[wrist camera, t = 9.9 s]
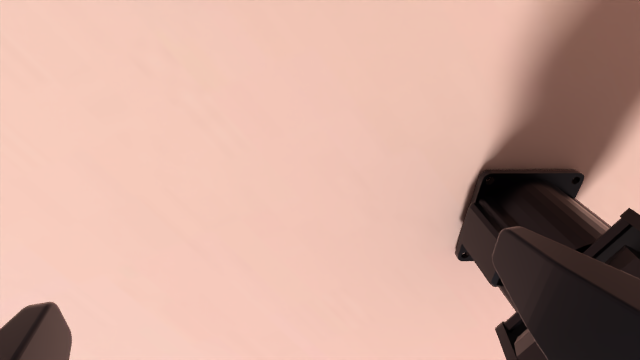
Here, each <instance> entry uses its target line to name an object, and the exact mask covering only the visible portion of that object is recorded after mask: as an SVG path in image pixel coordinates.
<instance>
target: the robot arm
mask: <svg viewBox="0 0 640 360" xmlns="http://www.w3.org/2000/svg"><path fill="white" fill-rule="evenodd" d="M489 177H491V178H490V179H489V180H488V181H486V180H487V179H488V178H489ZM583 180H584V175H583V174H582V173H580V172H579V171H577V170H486V171H484V172H482V173H481V174H480V176H479V178H478V181H477V184H476V187H475V191H474V194H473V197H472V200H471V203H470V206H469V207H468V210H467V213H466V216H465V219H464V223H463V226H462V229H461V232H460V235H459V241H458V244H457V248H456V251H455V255H456V256H457V258H458V259H459V260H460V261H475V263H476V264H477V266H478V267H479V269H480V270H481V271H482V273H483V274H484V276H485V277H486V279H487V280H488V282H489V283H490V284H491V285H492V286H493V287H499V288H500V290H501V291H502V293H503V294H504V295H505V297H506V298H507V300H508V301H509V302H510V304H511V305H512V307H513V308H514V309H515V311H516V313H515V314H513V315H512V316H511V317H510V318H509V319H508V320H507V321H506V322H502V323H500V324H499V325H498V326H497V327H496V328H495V330H496V333H497V335H498V338H499V341H500V343H501V346H502V349H503V352H504V354H505V357H506V360H640V215H639V214H638V213H636V212H635V211H633V210H632V209H630V208H629V209H627V210H626V211H625V212H624V213H623V214H622V215H621V216H620V217H621V219H620V220H618V221H617V222H616V223H615V224H614V225H613V226H612V227H611V226H610V225H609V224H607V223H606V222H605V221H603V220H602V219H601V218H600V217H598V216H597V215H596V214H594V213H593V212H592V211H591V210H589V209H588V208H587V207H585V206H584V205H583V204H582V203H580V202H579V201H578V200H576V199H575V197H576V195H577V193H578V191H579V189H580V187H581V185H582V182H583ZM463 253H464V254H463ZM71 344H72V336H71V331H70V329H69V327H68V325H67V323H66V321H65V319H64V317H63V315H62V313H61V311H60V309H59V307H58V306H57V305H56V304H55V303H53V302H46V303H40V304H34V305H29V306H27V307H25V308H23V309H22V310H21V311H20V312H19V313H18V314H17V315H15V316H14V317H13V318H12V319H11V320H10V321H9V322H8V323H6V324H5V325H4V326H3V327H2V328H1V329H0V360H69V357H70V350H71Z"/></svg>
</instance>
